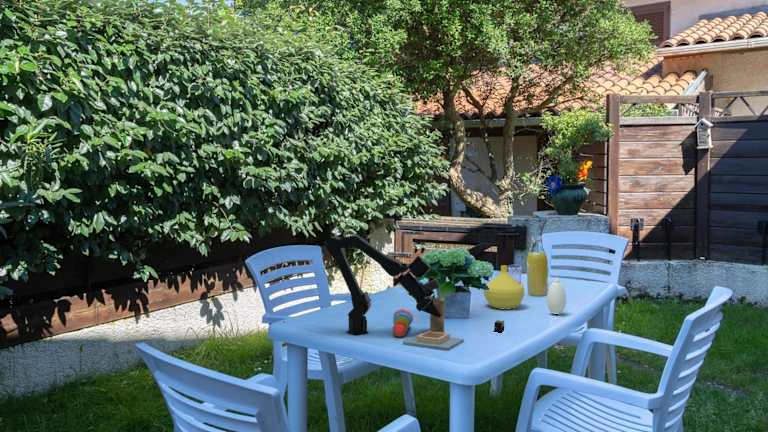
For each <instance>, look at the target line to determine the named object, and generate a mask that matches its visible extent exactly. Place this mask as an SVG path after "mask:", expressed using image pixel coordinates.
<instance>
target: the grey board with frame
mask: <svg viewBox="0 0 768 432" xmlns="http://www.w3.org/2000/svg"><path fill="white" fill-rule="evenodd" d="M464 342H465V339H464V338H460V337H459V338H458V337H457V338H456V337H451V335H450V333H446V332H444V333H440V332H432V331H430V330H427V331H425V332H422V333H421V332H420V333H418V334H415V335H414V336H412V337H410V338H408V339H405V340H404V341H402V345H403V346H412V347H418V348H419V347H420V348H425V347H426V348H427V349H434V350H439V349H440V351H450V350H452V349H454V348H455V347H457V346H459V345H461V344H462V343H464Z"/></svg>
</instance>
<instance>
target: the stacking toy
mask: <svg viewBox="0 0 768 432" xmlns="http://www.w3.org/2000/svg"><path fill="white" fill-rule="evenodd" d="M392 319H393V327H392V328H393V329H392V332H393V335H394V336H395V337H397V338H401V337H402V338H403V337H404V336H405V335H406V333H407V330H408V329H409V327H410V326H411V325H412V323H413V320H414V316H413V313H412V312H411V310H410V309H408V308H405V307H401V308H398V309H396V310H395V312H394V313H393V317H392Z"/></svg>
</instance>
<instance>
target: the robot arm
mask: <svg viewBox="0 0 768 432" xmlns="http://www.w3.org/2000/svg"><path fill="white" fill-rule="evenodd" d="M324 247H325V250H326V251H327V252H328V253H329V255H330V256H331V258H333V259H334V261H335V263H336V265H337V266H338V270H339V271H340V274H341V275H342V278H343V280H344V283H346V287H347V288H348V291H349V294H350V299H351V304H352V307H353V308H352V309H351V310H350V311H349V312H348V314H347V316H348V330H346V333H349V334H351V335H354V336H357V335H363V334H369V331H368V320H367V316H366V314H367V313H368V311H369V310H370V309H371V306H372V303H371V302H372V299H371V297H370V296H369V293H368V291H365V292H364V291H363V290H362V288H361V287H360V285H359V282H358V280H357V278H356V276H355V273H354V272H353V269H352V267H351V265H350V262H349V260H348V258H347V255H346V249H345V248H350V247H354V248H356V249H357V250H359V251H361V252H362V253H363V254H365V255H366V256H368V257H369V258H370V259H372V260H374V261H375V262H376V263H377V264H378V265H379V266H380V267H381V268H382V269H383V270H384V271H385V272H386V273H387V275H389V276H391V277H394V278H393V286H397V285H398V284H399V285H401V287H402V288H403V289H404V290H405V291H406V292H407V293H408V296H409V297H412V298H413V299H414V300H415V302H416V306H415V309H417V311H418V312H419V313H420V312H421V311H422V312H424V313H426V314H429V315H430V314H431V315H434V316H436V317H439V318H440V317H441V314H440V313H439V311H438V310H437V309H436V307H435V306H434V304H433V299H432V298H436V294H435V293H436V291H435V290H437V289H439V288H440V283H439V280H438V279H437V278H434V277H433V276H431V277H428V280H427V282H425V283H423V282H422V281H419V280H417V278H420V279H421V278H423V276H424V275H425V274H427V273H428V271H429V270H430V269H432V266H431V265H430V263H429V262H427V260H426V259H424V258H423V257H421V256H420V255H417V256H416V257H415V259H414V260H412V261H411V263H404V262H402V261H401V260H399V259H398V258H395V257H392V256H391V255H387V254H385V253H383V252H382V251H380V250H379V249H378V248H376V247H375V246H373V245H372V244H371V243H369V242H368V241H366V240H365V239H364V238H362V237H361V236H360V235H359V234H354V235H349V236H342V237H340V236H338V235H334V236H332V237H329V238H328V239H327V240H326V241H325V243H324ZM405 272H406V273H405ZM397 276H398V277H397Z"/></svg>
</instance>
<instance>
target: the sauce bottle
mask: <svg viewBox="0 0 768 432" xmlns="http://www.w3.org/2000/svg"><path fill="white" fill-rule="evenodd" d="M555 276H556V278H555V279H554V280H553V282H552V283H551V284H550V286H549V288H548V292H547V295H546V296H547V297H546V304H547V305H546V306H547V308H548V311H549V312H550V313H552V312H554V313H563V312H564V310H565V309H566V306H567V295H566V292H565V289H564V286H563V284H562V283H561V281H560V279H558V274H557V273H556V274H555Z"/></svg>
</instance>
